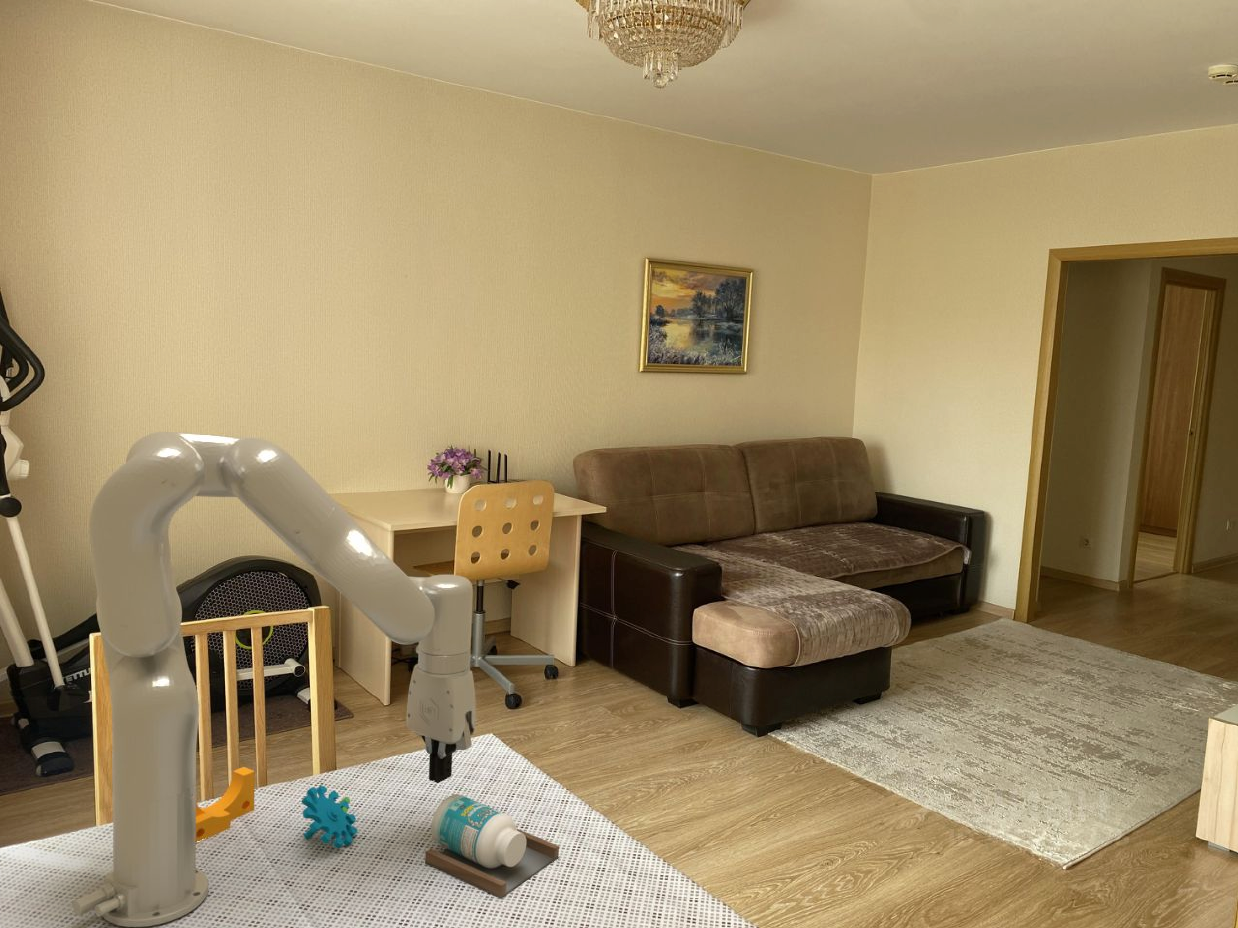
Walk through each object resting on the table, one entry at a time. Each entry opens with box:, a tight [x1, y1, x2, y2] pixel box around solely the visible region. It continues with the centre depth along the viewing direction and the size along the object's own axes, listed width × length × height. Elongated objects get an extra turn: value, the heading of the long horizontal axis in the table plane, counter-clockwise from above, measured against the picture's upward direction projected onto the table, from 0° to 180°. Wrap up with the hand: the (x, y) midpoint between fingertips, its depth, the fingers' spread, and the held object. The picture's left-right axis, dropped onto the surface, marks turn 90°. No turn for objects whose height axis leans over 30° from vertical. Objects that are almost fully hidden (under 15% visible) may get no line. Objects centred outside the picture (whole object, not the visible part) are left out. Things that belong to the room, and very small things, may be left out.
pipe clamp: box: [196, 766, 256, 842], centre depth 139 cm, size 12×4×6 cm, turn 149°
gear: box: [301, 784, 358, 849], centre depth 137 cm, size 11×6×10 cm
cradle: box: [424, 828, 560, 899], centre depth 134 cm, size 13×14×2 cm
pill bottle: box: [430, 793, 526, 868], centre depth 134 cm, size 8×7×14 cm
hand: (440, 778), depth 139 cm, fingers closed
